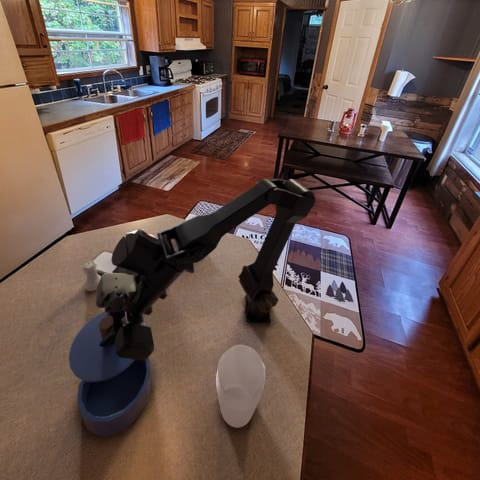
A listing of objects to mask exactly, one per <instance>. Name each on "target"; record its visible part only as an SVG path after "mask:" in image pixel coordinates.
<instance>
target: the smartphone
mask: <svg viewBox="0 0 480 480" xmlns="http://www.w3.org/2000/svg"><path fill="white" fill-rule="evenodd" d="M112 254H113V252H109V251H102V252H101V253H100V254H99V255H97V256H96V257H95V258H94V259H93V260H92V261H94V262H95V263H96V264H97V267H96V268H97V271H96V272H97V273H100V274H102V275H103V274H105V273H112V271H113V270H114V269H115V268H116V267H117V266H114V265H113V264H112V261H111V260H112Z"/></svg>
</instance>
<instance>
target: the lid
mask: <svg viewBox="0 0 480 480" xmlns="http://www.w3.org/2000/svg"><path fill="white" fill-rule="evenodd" d="M107 314H108V313H106V312H105V310H104V311H102V312H100V313H98V314H97V315H95V316H94V317H93V318H91V319H89V321H87V323H85V324H84V325H83V327H81V328H80V330H79V331H78V333H77V334H76V336H75V337H74V339H73V341H72V343H71V346H70V348H69V353H68V362H69V367H70V370H71V372H72V373H73V374H74V376H75V377H76V378H78V379H79V380H80V381H81V380H84V381H87V382H100V381H104V380H107V379H110V378H112V377H114V376H116V375H118V374H120V373H121V372H123V371H124V370H125V369H127V368H128V367H129V366H130V365H131V364H132V363H133V362H134V361H135V359H127V358H119V356H118V355H117V354H116V343H113V344H111V345H108V346H106V347H100V346H99V344H100V343H101V341H102V340H103V338H104V337H105V336H106V335H107V333H108V332H109V331H110V330H111V328H112V327H113V317H112V316H107ZM142 317H144V315H142ZM125 318H126V317H124V318H123V319H125ZM123 319H121V320H123ZM145 322H146V323H147V321H146V320H145ZM146 326H148V325H147V324H146ZM99 330H100V331H99Z"/></svg>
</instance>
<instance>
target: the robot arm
mask: <svg viewBox="0 0 480 480" xmlns="http://www.w3.org/2000/svg"><path fill="white" fill-rule="evenodd" d="M316 199H317V198H316V197H315V194H314V193H313V191H311V190H310V189H309V188H307V187H306V186H304V184H302V183H301V182H299V181H297V180H296V179H293V178H289V179H287V180H285V179H281V178H273V179H269V178H261V179H259V180H258V181H257V182H256V184H255V185H253V186H252V187H251V188H249V189H248V190H246V191H244V192H242V193H241V194H239V195H238V196H236V197H235V198H234V199H232V200H230V201H229V202H227V203H225V204H224V205H222V206H221V207H219V208H218V209H215V211H213V212H211V213H209V214H203V215H202V214H201V215H196V216H193V217H191V218H189V219H186V220H184V221H183V222H181V223H180V224H178V225H175V226H173V227H169V228H167V229H163V230H160V231H158V232H157V233H156V236H157V238H156V237H155V236H154V237H155V238H154V237H152V236H150V235H151V234H150V235H148V234H149V233H147V232H146V231H145V230H144V231H142V230H141V229H137V230H138V231H137V232H136V233H135V234H134V233H129V234H127V235H126V236H125V235H123V236H121V238H120V239H119V241H118V242H117V244H116V245H115V247H114V249H113V252H112V253H113V254H112V260H111V261H112V264H113V265H114V266H117V267H116V268H115V269H114V270H113V271H112V273H105V274H103V273H102V275H101V276H100V277H101V279H100V282H99V284H98V286H97V289H96V290H95V298H96V299H95V306H96V307H97V308H100V309H104V311H105V312H106V313H108V314H107V316H112V317H113V327H112V328H111V330H110V331H109V332H108V333H107V335H106V336H105V337H104V338H103V340H102V341H101V343H100V344H99V346H100V347H106V346H108V345H111V344H113V343H116V354H117V355H118V356H119V358H127V359H135V360H143V361H145V360H146V359H147V358H149V357H150V356H151V355H152V354H153V352H154V351H155V344H154V343H155V342H154V337H153V331H152V327H151V326H148V325H147V321H146V318H145V317H144V315H145V316H151V314H152V313H153V312H154V311H153V305H154V304H155V303H156V302H157V301H158V300H159V299H161V300H165V299H166V297H168V293H167V290H169V288H170V287H171V286H172V285H173V284H174V282H175V281H177V279H178V278H179V277H180V276H181V275H182V274H183V273H184V272H186V273H190V274H194V273H195V266H194V265H195V264H196V263H199V262H201V261H203V260H204V259H205V258H206V257H208V256H209V255H211V253H212V252H214V250H216V248H217V247H218V245H219V243H220V242H221V240H222V238H223V237H225V236H226V235H227V234H228V233H229V232H231V231H232V230H234V229H236V228H237V227H239V226H240V225H241V224H244V222H246V221H247V220H249V219H251V218H252V217H253V216H255V215H256V214H257V213H259V212H262V211H263V210H264V209H265V208H267V207H268V206H270V205H274V206H275V215H274V218H273V219H272V222H271V224H270V227H269V229H268V231H267V234H266V235H265V238H264V240H263V243H262V245H261V247H260V249H259V251H258V253H257V256H256V258H255V261H254V262H252V263H250V264H248V265H243V266H242V270H241V272H240V274H239V275H238V276H237V277H238V282H239V284H240V286H241V288H242V290H243V292H244V294H245V296H244V302H243V311H244V312H243V313H244V315H245V321H246V323H249V324H251V323H252V324H270V323H271V322H272V319H271V311H272V309H273V308H274V307H276V306H277V304H278V302H279V298H278V296H277V295H276V293H275V292H274V291H273V289H274V270H275V268H276V267H277V265H278V262H279V260H280V258H281V255H282V254H283V252H284V249H285V247H286V245H287V243H288V242H289V239H290V236H291V234H292V232H293V230H294V228H295V226H296V225H297V223H299V222H301V221H302V220H304V219H306V218H307V217H308V215H309V213H311V211H312V209H313V208H314V206H315V203H316ZM171 239H174V240H175V243H176V245H177V248H178V251H179V252H178V251H176V250H174V248H173V245H172V242H171ZM142 316H143V317H142ZM124 317H126V318H125V319H123V318H124ZM121 319H123V320H121ZM145 321H146V322H145ZM146 325H147V326H146ZM99 331H100V330H99Z"/></svg>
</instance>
